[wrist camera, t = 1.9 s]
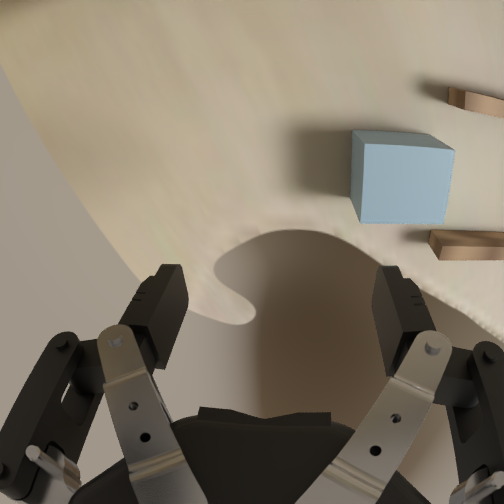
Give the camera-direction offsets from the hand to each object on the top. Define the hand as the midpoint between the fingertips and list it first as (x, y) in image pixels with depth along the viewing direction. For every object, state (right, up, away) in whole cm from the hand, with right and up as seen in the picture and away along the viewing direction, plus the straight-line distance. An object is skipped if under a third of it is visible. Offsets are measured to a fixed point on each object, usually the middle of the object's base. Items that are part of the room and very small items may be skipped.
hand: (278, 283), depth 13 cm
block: (+11, +9, +12) cm, 18 cm away
